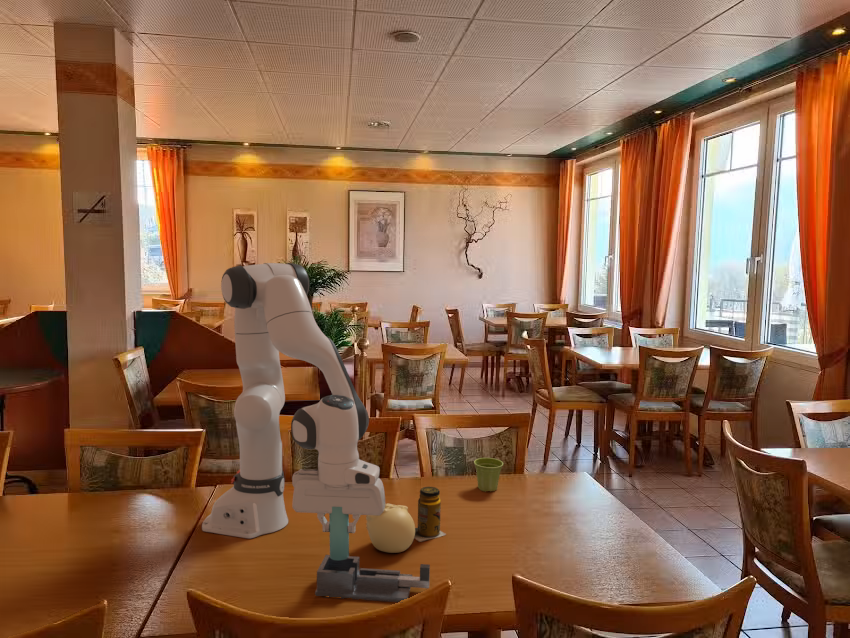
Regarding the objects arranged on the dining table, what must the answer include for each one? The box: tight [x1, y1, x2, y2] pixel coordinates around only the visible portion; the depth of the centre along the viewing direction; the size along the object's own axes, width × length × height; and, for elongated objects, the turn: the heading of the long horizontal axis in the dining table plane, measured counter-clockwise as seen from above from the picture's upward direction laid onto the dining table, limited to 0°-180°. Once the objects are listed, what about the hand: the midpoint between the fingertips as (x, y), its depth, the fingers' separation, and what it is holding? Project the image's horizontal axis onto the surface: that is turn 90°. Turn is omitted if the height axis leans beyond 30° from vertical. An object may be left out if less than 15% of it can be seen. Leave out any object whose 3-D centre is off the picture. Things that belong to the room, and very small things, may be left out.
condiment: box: [414, 486, 447, 543], centre depth 165 cm, size 7×8×12 cm
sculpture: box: [365, 503, 416, 554], centre depth 157 cm, size 11×12×11 cm
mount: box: [314, 554, 413, 603], centre depth 137 cm, size 20×10×5 cm, turn 85°
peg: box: [328, 507, 350, 561], centre depth 137 cm, size 4×4×12 cm
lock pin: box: [375, 563, 431, 589], centre depth 136 cm, size 12×2×5 cm, turn 85°
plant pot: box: [473, 457, 504, 492], centre depth 198 cm, size 9×9×9 cm
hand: (339, 531), depth 137 cm, fingers closed on peg, 4 cm apart
